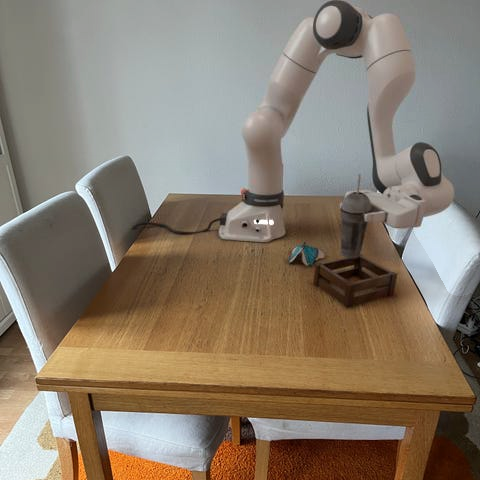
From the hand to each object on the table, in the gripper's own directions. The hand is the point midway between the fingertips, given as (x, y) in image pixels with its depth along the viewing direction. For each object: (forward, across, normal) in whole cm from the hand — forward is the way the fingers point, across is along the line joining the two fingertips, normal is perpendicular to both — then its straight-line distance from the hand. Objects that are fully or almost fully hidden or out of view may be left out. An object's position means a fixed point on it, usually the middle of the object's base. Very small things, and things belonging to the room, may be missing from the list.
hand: (352, 212), depth 112 cm
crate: (-3, 0, +21) cm, 21 cm away
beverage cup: (-1, 0, +11) cm, 11 cm away
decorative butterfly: (-2, -22, +21) cm, 31 cm away
